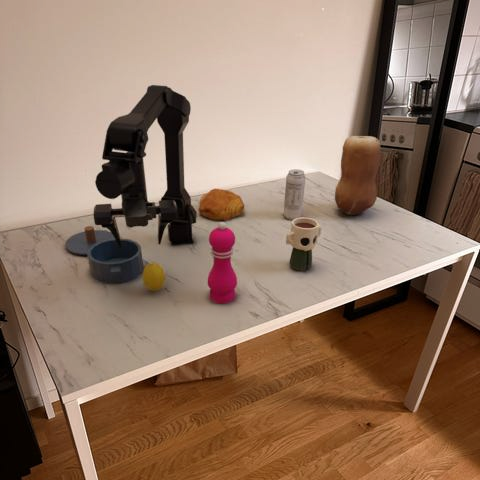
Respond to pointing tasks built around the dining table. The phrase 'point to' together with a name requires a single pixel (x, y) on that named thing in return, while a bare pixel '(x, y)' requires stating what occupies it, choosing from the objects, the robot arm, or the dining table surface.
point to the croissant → (220, 205)
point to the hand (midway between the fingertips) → (140, 245)
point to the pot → (115, 261)
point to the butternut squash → (358, 174)
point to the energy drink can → (294, 194)
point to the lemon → (153, 276)
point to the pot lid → (86, 240)
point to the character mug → (303, 241)
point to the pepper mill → (222, 265)
